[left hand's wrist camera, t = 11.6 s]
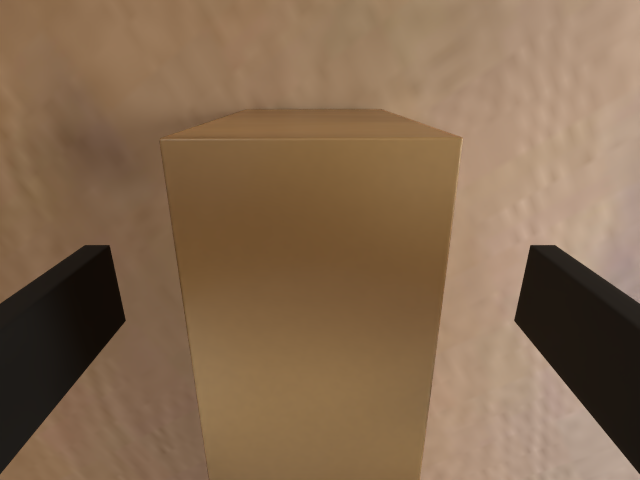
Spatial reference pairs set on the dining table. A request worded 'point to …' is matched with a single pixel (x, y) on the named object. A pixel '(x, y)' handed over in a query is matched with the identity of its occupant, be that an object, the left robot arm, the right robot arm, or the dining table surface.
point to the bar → (312, 287)
